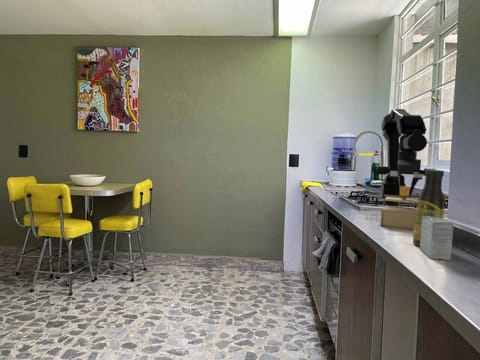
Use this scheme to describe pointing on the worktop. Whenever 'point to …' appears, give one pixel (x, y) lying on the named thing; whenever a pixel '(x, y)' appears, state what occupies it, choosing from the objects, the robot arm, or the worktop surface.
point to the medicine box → (436, 237)
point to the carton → (398, 217)
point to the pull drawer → (404, 192)
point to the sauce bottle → (429, 201)
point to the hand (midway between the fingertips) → (404, 196)
